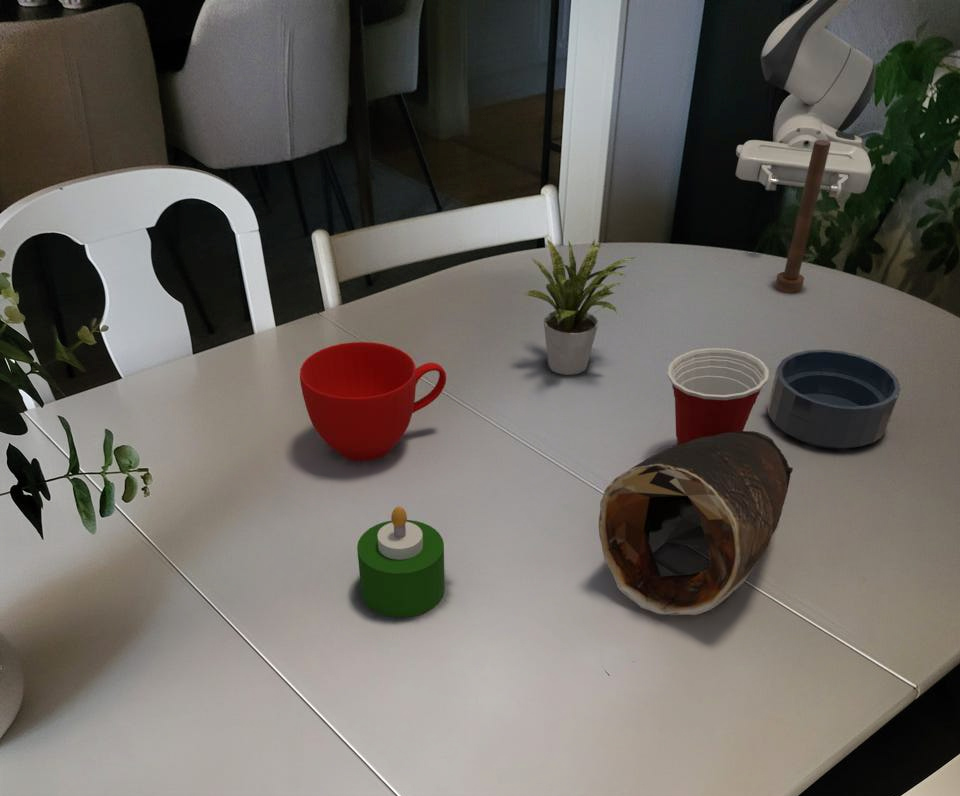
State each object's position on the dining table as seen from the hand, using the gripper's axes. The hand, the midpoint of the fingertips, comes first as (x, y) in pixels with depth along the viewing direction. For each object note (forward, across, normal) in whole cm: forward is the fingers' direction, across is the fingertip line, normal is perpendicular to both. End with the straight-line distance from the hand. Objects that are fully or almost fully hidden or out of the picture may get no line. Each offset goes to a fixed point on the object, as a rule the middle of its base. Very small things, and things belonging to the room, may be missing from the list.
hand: (803, 189), depth 148 cm
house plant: (+43, -29, +9) cm, 53 cm away
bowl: (+49, +4, +7) cm, 50 cm away
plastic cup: (+61, -11, +6) cm, 63 cm away
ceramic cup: (+65, -49, +8) cm, 82 cm away
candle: (+90, -40, +5) cm, 99 cm away
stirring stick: (+10, 0, +10) cm, 15 cm away
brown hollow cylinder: (+78, -10, +5) cm, 79 cm away
